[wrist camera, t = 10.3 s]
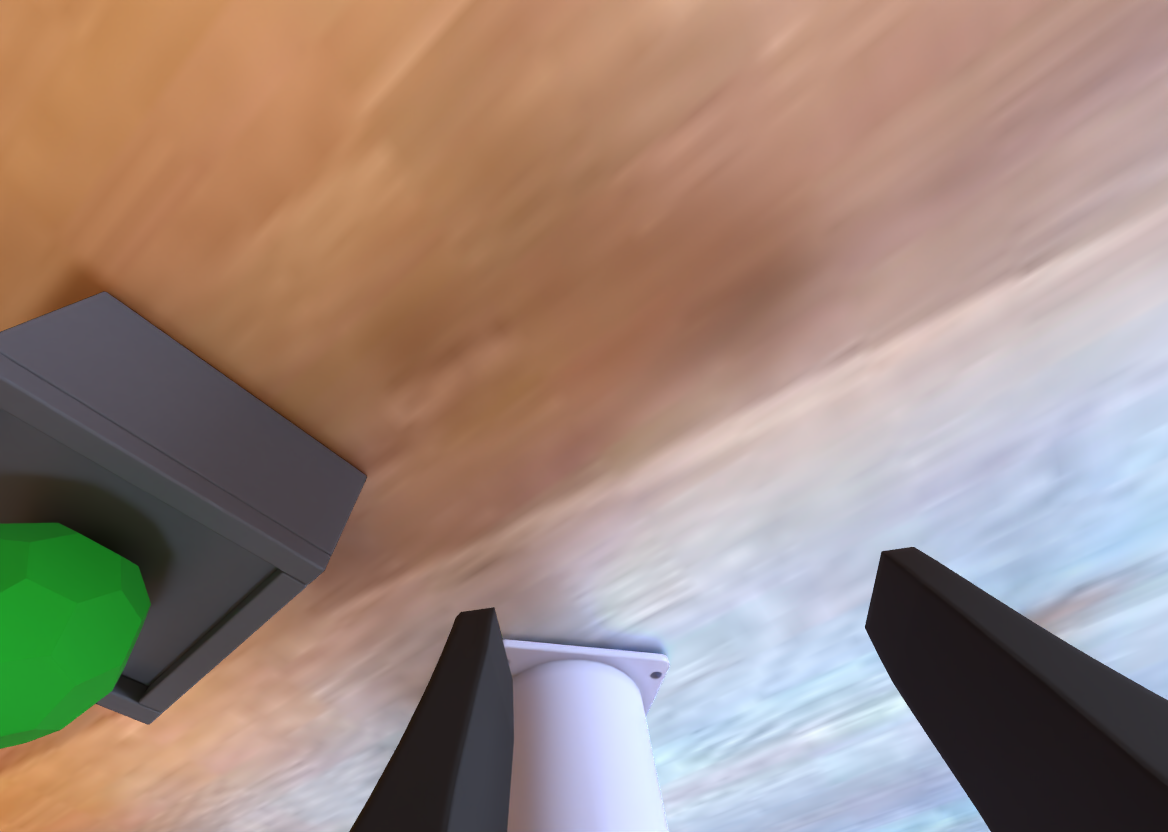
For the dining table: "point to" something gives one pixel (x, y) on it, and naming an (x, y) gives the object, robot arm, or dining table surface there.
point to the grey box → (165, 484)
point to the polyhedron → (61, 626)
